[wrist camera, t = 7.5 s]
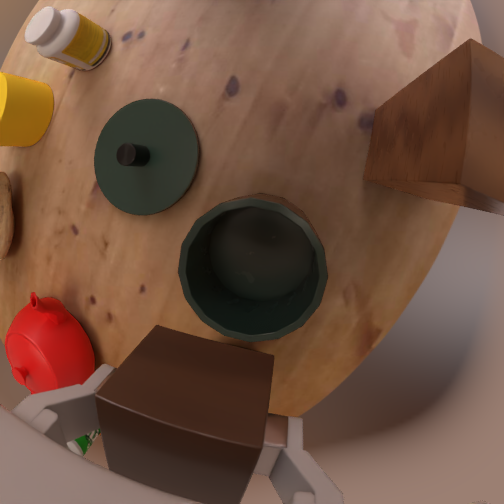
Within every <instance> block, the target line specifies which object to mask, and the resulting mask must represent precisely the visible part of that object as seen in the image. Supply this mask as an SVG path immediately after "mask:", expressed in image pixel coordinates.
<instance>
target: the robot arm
mask: <svg viewBox="0 0 504 504" xmlns="http://www.w3.org/2000/svg"><path fill="white" fill-rule="evenodd" d="M116 370H117V368H114V367H112V366H110V365H107V364H102V365H101V366H100V367H99V368H98V369H97V370H96V371H95V372H94V373H93V374H92V375H91V376H90V377H89V378H88V379H87V380H86V381H85V383H84V384H83V385H80V384H76V385H72V386H68V387H64V388H59V389H55V390H51V391H46V392H41V393H37V394H32V395H28V396H27V397H26V398H25V399H24V400H23V401H22V402H21V403H19V404H18V405H17V406H16V407H15V408H14V409H13V410H12V411H11V412H10V411H9V410H8V409H6V408H5V407H4V406H2V405H1V404H0V504H205V503H201V502H197V501H194V500H190V499H187V498H183V497H180V496H177V495H173V494H170V493H167V492H164V491H161V490H158V489H155V488H153V487H150V486H147V485H144V484H142V483H139V482H137V481H134V480H132V479H129V478H127V477H124V476H122V475H120V474H117V473H115V472H113V471H111V470H108V469H106V468H104V467H102V466H100V465H98V464H95V463H93V462H92V461H90V460H88V459H86V458H84V457H82V456H80V455H78V454H76V453H74V452H73V451H71V450H69V448H68V446H67V443H68V442H70V441H72V440H75V439H77V438H79V437H81V436H84V435H86V434H88V433H90V432H93V431H95V430H97V429H99V428H100V426H99V421H98V415H97V409H96V403H95V394H96V392H97V391H98V390H99V389H100V388H101V387H102V386H103V384H104V383H105V382H106V381H107V380H108V379H109V378H110V376H111V375H112V374H113V373H114V372H115V371H116ZM253 473H255V474H260V475H265V476H269V478H270V480H271V482H272V484H273V486H274V488H275V489H276V491H277V493H278V495H279V497H280V498H281V500H282V502H283V504H344V501H343V493H342V492H341V491H340V490H339V488H338V487H337V486H336V485H335V484H334V483H333V481H332V480H331V479H330V478H329V477H328V476H327V474H326V473H325V472H324V471H323V470H322V468H321V467H320V466H319V465H318V464H317V463H316V462H315V460H314V459H313V458H312V456H311V455H310V454H309V453H308V452H307V451H303V420H302V418H298V417H291V416H284V415H278V414H272V413H268V416H267V423H266V431H265V438H264V446H263V450H262V452H261V455H260V457H259V460H258V462H257V465H256V467H255V470H254V472H253ZM470 504H490V503H488V502H486V501H478V502H474V503H470Z"/></svg>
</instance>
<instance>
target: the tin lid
mask: <svg viewBox="0 0 504 504" xmlns="http://www.w3.org/2000/svg"><path fill="white" fill-rule="evenodd" d="M198 161H199V143H198V138H197V134H196V131H195V129H194V126H193V124H192V123H191V121H190V119H189V118H188V117H187V116H186V114H185V113H184V112H183V111H181V110H180V109H179V108H178V107H176V106H175V105H173V104H171V103H169V102H166V101H163V100H159V99H143V100H138V101H135V102H132V103H130V104H128V105H126V106H124V107H123V108H121V109H120V110H119V111H117V112H116V113H115V114H114V115H113V116H112V117H111V118H110V119H109V121H108V122H107V123H106V125H105V126H104V128H103V130H102V131H101V134H100V136H99V138H98V141H97V144H96V149H95V156H94V168H95V174H96V179H97V182H98V184H99V187H100V189H101V191H102V192H103V194H104V195H105V197H106V198H107V199H108V200H109V201H110V202H111V203H112V204H113V205H114V206H115V207H117V208H118V209H120V210H122V211H124V212H126V213H130V214H134V215H150V214H155V213H158V212H161V211H163V210H165V209H167V208H169V207H170V206H172V205H173V204H175V203H176V202H177V201H178V200H179V199H180V198H181V197H182V196H183V195H184V194H185V193H186V191H187V190H188V188H189V187H190V185H191V183H192V181H193V179H194V176H195V174H196V171H197V167H198Z"/></svg>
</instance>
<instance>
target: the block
mask: <svg viewBox="0 0 504 504" xmlns="http://www.w3.org/2000/svg"><path fill="white" fill-rule="evenodd" d="M273 366H274V355H271V354H266V353H261V352H257V351H253V350H248V349H244V348H240V347H236V346H232V345H228V344H224V343H220V342H216V341H212V340H208V339H204V338H201V337H197V336H193V335H190V334H186V333H183V332H179V331H176V330H172V329H169V328H166V327H162V326H159V325H156V326H155V327H154V328H153V329H152V330H151V331H150V332H149V334H148V335H147V336H146V337H145V338H144V339H143V340H142V341H141V342H140V344H139V345H138V346H137V347H136V348H135V349H134V350H133V351H132V353H131V354H130V355H129V356H128V357H127V358H126V359H125V360H124V362H123V363H122V364H121V365H120V366H119V367H118V368H117V370H116V371H115V372H114V373H113V374H112V375H111V376H110V378H109V379H108V380H107V381H106V382H105V383H104V384H103V386H102V387H101V388H100V389H99V390H98V391H97V392H96V394H95V403H96V409H97V415H98V421H99V426H100V431H101V436H102V441H103V445H104V450H105V454H106V459H107V463H108V467H109V470H111V471H113V472H115V473H117V474H120V475H122V476H124V477H127V478H129V479H132V480H134V481H137V482H139V483H142V484H144V485H147V486H150V487H153V488H155V489H158V490H161V491H164V492H167V493H170V494H173V495H177V496H180V497H183V498H187V499H190V500H194V501H197V502H201V503H205V504H240V502H241V500H242V498H243V496H244V493H245V491H246V488H247V486H248V484H249V482H250V479H251V477H252V475H253V472H254V470H255V467H256V465H257V462H258V460H259V457H260V455H261V452H262V450H263V446H264V438H265V431H266V423H267V416H268V408H269V400H270V392H271V383H272V375H273Z"/></svg>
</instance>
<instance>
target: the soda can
mask: <svg viewBox="0 0 504 504" xmlns="http://www.w3.org/2000/svg"><path fill="white" fill-rule="evenodd" d="M100 432H101V431H100V428H99V429H97V430H95V431H93V432H90V433H88V434H86V435H84V436H81V437H79V438H77V439H75V440H72V441H70V442H68V443H67V446H68V448H69V450H71V451H73V452H74V453H76V454H78V455H80V456H82V457H83V456H84V454H85V453H86V451H87V450H88V449H89V447H90V446H91V445H92V443H93V442H94V440H95V438H96V437H97V436H98V435H99V433H100Z"/></svg>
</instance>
